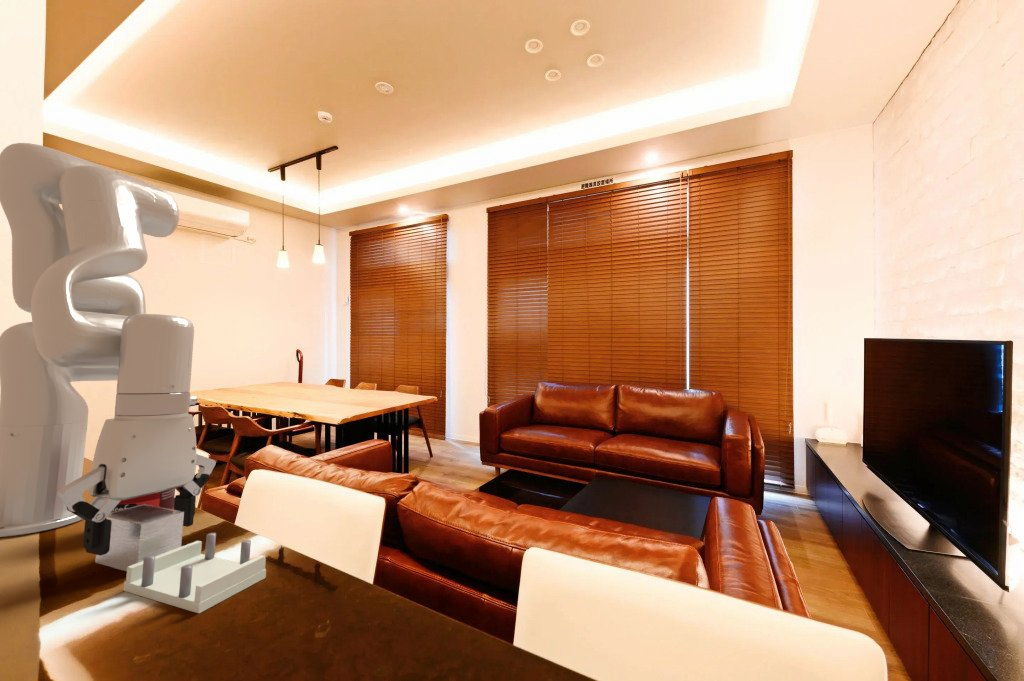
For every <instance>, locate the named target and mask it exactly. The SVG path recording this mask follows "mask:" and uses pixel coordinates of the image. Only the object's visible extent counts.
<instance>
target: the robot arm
mask: <svg viewBox="0 0 1024 681" xmlns="http://www.w3.org/2000/svg"><path fill="white" fill-rule="evenodd" d="M0 205H1V207H2V210H3V212H4V215H5V217H6V219H7V221H8V225H9V227H10V232H11V280H12V281H11V286H12V295H13V299H14V302H15V304H16V306H18V308H20V309H21V310H22V311H24V312H27V313H30V314H31V321H29V322H28V321H27V322H22V323H17V324H15V325H12V326H10V327H8V328H7V329H6V330H5V329H4V331H3V332H2V333H1V335H0V538H2V537H3V538H5V537H14V536H21V535H26V534H33V533H39V532H40V533H41V532H44V531H49V530H53V529H56V528H61V527H64V526H68V525H70V524H74V523H76V522H79V521H81V520H82V521H84V530H83V541H82V545H83V549H85V552H86V553H87V554H92V555H95V556H96V555H100V556H101V555H104V554H107V553H108V552H109V549H110V537H111V525H112V521H111V520H109V519H106V517H107V516H108V515H109V514H110V512H111V511H112V510H113V509H114V508H115V507H116V506H117V504H118V503H119V502H120V501H121V500H127V499H132V498H136V497H141V496H145V495H149V494H153V493H157V492H161V491H165V490H170V489H174V488H175V491H177V492H178V493H179V494H176V495H175V496H174V507H173V510H177V511H182V512H184V519H183V527H187V528H188V527H191V526H193V524H194V518H195V517H194V516H195V514H196V513H195V512H196V501H197V499H196V498H197V496H199V495H200V494H201V493H202V488H203V487H204V486H205V485H206V484H207V482H208V481H209V479H210V475H211V474H212V472H213V469H214V468H215V466H216V463H217V462H216V460H215V459H213V458H209V457H206V456H204V455H201V454H198V453H197V436H196V428H195V422H194V416H193V414H190V413H189V411H190V407H191V406H196V404H197V402H198V398H197V397H196V396H195V395H193V396H192V395H191V383H192V382H191V381H192V380H191V379H192V365H193V351H194V336H195V327H194V324H193V323H192V321H190V320H189V319H188V318H185V317H182V316H176V315H169V314H168V315H167V314H159V313H158V314H155V313H147V308H146V298H145V292H144V290H143V287H142V284H141V283H140V282H139V280H138V279H136V278H135V276H133V275H131V274H132V273H135V272H136V271H138V270H141V269H142V268H143V267H144V266H145V265H146V264H147V262H148V257H149V256H148V250H147V247H146V242H145V239H144V235H147V236H151V237H153V238H167V237H168V236H170V235H172V234H173V233H174V232H175V231H176V229H177V228H178V225H179V222H180V210H179V206H178V204H177V201H176V200H175V198H174V197H173V196H172V195H171V193H169V192H168V191H167V190H165V189H164V188H160V187H159V186H155V185H152V184H150V183H148V182H145V181H143V180H142V179H138V178H136V177H134V176H131V175H129V174H126V173H122V172H120V171H117V170H114V169H113V168H112V169H111V168H109V167H106V166H103V165H101V164H97V163H95V162H93V161H90V160H88V159H84V158H82V157H79V156H76V155H73V154H70V153H67V152H64V151H61V150H58V149H55V148H52V147H48V146H45V145H40V144H36V143H29V142H18V143H17V142H16V143H11V144H8V145H7V146H6V147H4V148H3V149H2V151H1V152H0ZM60 205H61V206H60ZM61 207H62V208H61ZM99 381H100V382H102V381H103V382H104V381H105V382H109V381H110V382H111V381H116V382H117V383H116V384H117V385H116V396H115V406H114V407H115V408H114V417H113V418H106V419H105V422H104V423H103V425H102V428H101V431H100V434H99V436H98V440H97V443H96V446H95V447H96V448H95V451H94V455H93V459H92V460H93V461H92V465H91V471H89V472H88V473H85V474H84V475H83V469H84V460H85V453H86V452H85V451H86V440H87V430H88V421H89V420H88V419H89V407H88V403H87V402H86V400H85V398H84V397H83V396H82V395H81V394H80V392H78V391H77V390H76V389H75V388H74V386H73V385H72V383H73V382H99ZM197 466H198V470H197V473H196V468H197ZM87 490H88V492H89V493H88V494H89V495H90V496H91V497H93V499H92V500H91V501H90V502H87V501H86V500H85V498H84V496H83V494H84V492H85V491H87Z"/></svg>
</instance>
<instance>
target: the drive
mask: <svg viewBox="0 0 1024 681" xmlns="http://www.w3.org/2000/svg"><path fill="white" fill-rule="evenodd" d="M106 519H109V520H111V521H112V525H111V537H110V549H109V552H108V553H107V554H104V555H101V556H100V555H96V554H95V561H94V562H95V564H99V565H103V566H105V567H106V566H107V567H109V568H113V569H117V570H120V571H125V572H127V567H128V566H131V565H134V564H136V563H139V562H142V561H144V557H146V556H150V555H155V556H158V555H160V554H163V553H166V552H168V551H171V550H174V549H177V548H179V547H182V540H183V527H184V526H183V519H184V512H182V511H177V510H174V509H173V510H172V509H167V508H162V507H157V506H152V505H147V504H142V505H138V506H135V507H131V508H127V509H123V510H119V511H115V512H111V513H110V514H109V515H108V516H107V517H106Z"/></svg>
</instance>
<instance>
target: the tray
mask: <svg viewBox="0 0 1024 681" xmlns="http://www.w3.org/2000/svg"><path fill="white" fill-rule="evenodd" d="M216 538H217V533H216V532H209V533H207V534H206V538H205V547H204V548H205V551H204V554H203V553H202V544H203V541H201V540H195V541H193V542H190V543H187V544H186V545H181V547H179V548H177V549H174V550H171V551H168V552H166V553H163V554H160V555H158V556H155V555H150V556H146V557H144V561H142V562H139V563H136V564H134V565H131V566H128V567H127V571H126V575H125V576H126V579H125V580H124V582H123V591H124V592H126V593H130V594H132V595H137V596H141V597H142V598H146V599H150V600H152V601H157V602H160V603H162V604H166V605H170V606H173V607H176V608H179V609H183V610H186V611H189V612H193V613H196V614H201V613H202V612H204V611H206V610H208V609H211V607H215V605H218V604H219V603H221V602H223V601H225V600H227V599H228V598H231V597H232V596H234V595H237V594H238V593H240V592H242V591H243V590H246V589H247V588H249V587H252V586H253V585H255V584H256V583H258V582H261V581H262V580H264V579H265V578H267V577H266V576H267V569H266V561H267V560H266V559H267V556H266V555H262V554H259V555H258V556H256V557H254V558H251V559H250V557H251V547H252V546H251V545H252V544H251V543H252V541H251V539H246V540H243V541H241V544H240V557H239V561H238V562H237V561H233V560H229V559H225V558H221V557H215V555H216V554H215V552H216Z"/></svg>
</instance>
